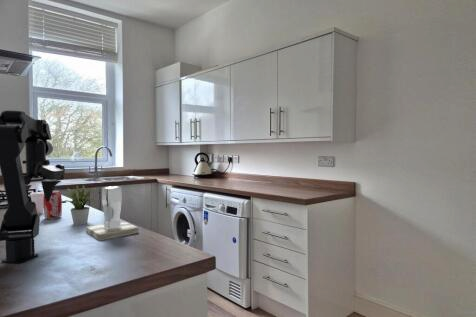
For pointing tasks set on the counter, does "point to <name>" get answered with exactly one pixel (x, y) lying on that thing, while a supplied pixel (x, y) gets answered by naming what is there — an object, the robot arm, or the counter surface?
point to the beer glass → (112, 206)
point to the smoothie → (38, 200)
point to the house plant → (80, 206)
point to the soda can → (53, 206)
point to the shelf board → (111, 231)
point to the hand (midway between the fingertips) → (37, 203)
